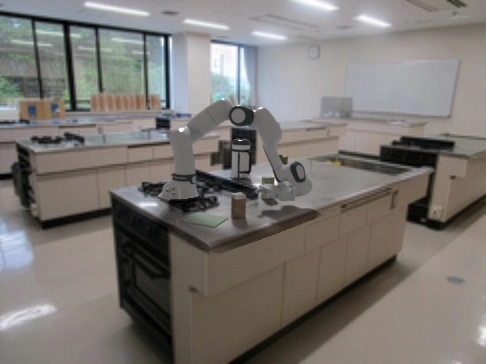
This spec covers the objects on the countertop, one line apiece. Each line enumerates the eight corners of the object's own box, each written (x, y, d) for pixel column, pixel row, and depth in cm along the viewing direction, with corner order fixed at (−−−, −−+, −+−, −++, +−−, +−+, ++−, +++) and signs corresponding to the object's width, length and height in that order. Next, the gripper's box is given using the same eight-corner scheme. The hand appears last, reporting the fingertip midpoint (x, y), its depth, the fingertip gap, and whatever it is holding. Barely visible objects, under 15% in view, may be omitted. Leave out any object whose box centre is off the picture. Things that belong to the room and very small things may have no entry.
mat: (183, 221, 153) (183, 220, 153) (198, 213, 165) (198, 212, 165) (214, 227, 147) (214, 226, 147) (228, 218, 159) (228, 217, 158)
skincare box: (265, 199, 189) (266, 178, 186) (260, 197, 193) (261, 176, 190) (274, 197, 193) (275, 176, 190) (269, 196, 196) (270, 175, 193)
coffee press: (226, 180, 232) (226, 135, 224) (233, 175, 246) (234, 133, 239) (250, 182, 227) (252, 137, 219) (257, 177, 241) (258, 134, 234)
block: (231, 216, 162) (231, 193, 160) (240, 214, 165) (240, 192, 162) (236, 219, 158) (236, 196, 155) (245, 217, 160) (246, 194, 158)
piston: (280, 157, 253) (270, 155, 261) (279, 173, 256) (269, 171, 264) (291, 156, 260) (280, 154, 268) (290, 171, 262) (279, 169, 271)
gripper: (272, 179, 180) (250, 183, 173) (297, 188, 163) (273, 192, 156) (272, 191, 181) (250, 195, 174) (296, 201, 164) (273, 205, 157)
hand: (261, 193), depth 165 cm, fingers open, 8 cm apart
